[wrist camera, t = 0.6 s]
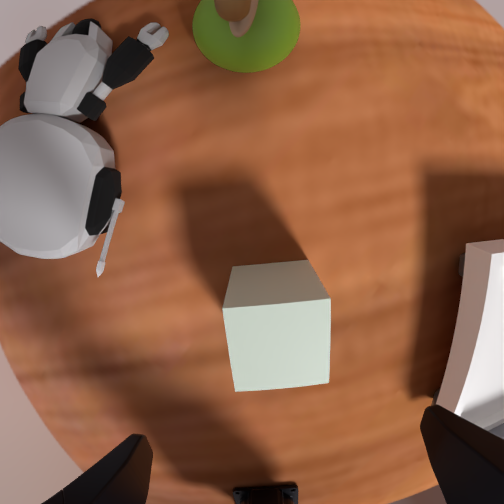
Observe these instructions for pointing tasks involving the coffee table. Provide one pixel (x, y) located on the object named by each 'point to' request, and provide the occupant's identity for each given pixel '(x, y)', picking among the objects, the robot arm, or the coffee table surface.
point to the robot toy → (66, 141)
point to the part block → (277, 326)
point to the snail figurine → (246, 32)
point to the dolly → (478, 341)
